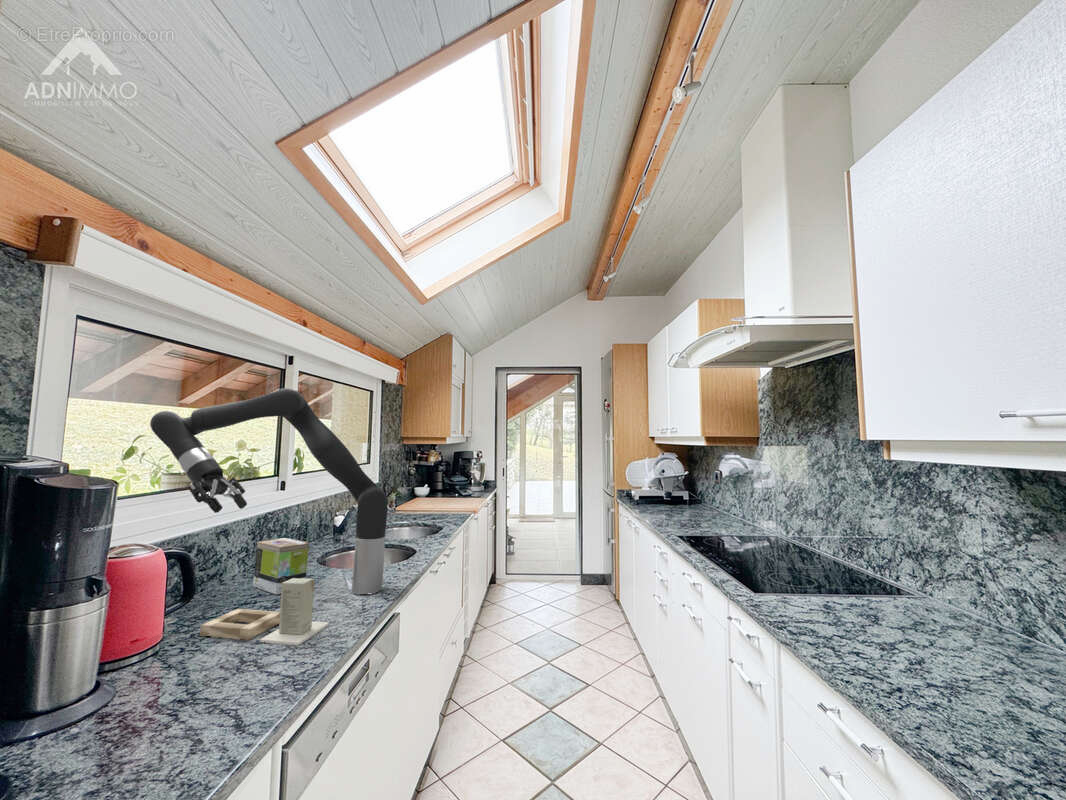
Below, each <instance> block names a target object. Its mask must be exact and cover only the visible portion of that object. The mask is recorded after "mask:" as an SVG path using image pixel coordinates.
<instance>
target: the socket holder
mask: <svg viewBox="0 0 1066 800" xmlns="http://www.w3.org/2000/svg"><path fill="white" fill-rule="evenodd" d="M236 622H247V623H236ZM235 623H236V624H235ZM278 624H280V611H273V610H259V609H249V608H248V609H247V608H237V609H234V610H232V611H230V612H227V613H225V614H223V615H220V616H218V617H216V618H214V619H211V620H209V621H207V622H205V623H203V624H201V625H200V630H199V636H200V637H206V636H211V637H210V638H218V637H222V638H221V639H229V638H234V639H233V640H240V639H245V640H244V641H250V640H252V639H253V638H255V637H256V635H257V636H259V635H260V634H262V633H264V632H266V631H268V630H269V629H272V628H274V627H275V626H277V625H278ZM267 629H268V630H267ZM258 634H259V635H258ZM254 636H255V637H254ZM252 637H253V638H252ZM249 639H250V640H249Z"/></svg>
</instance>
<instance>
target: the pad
mask: <svg viewBox="0 0 1066 800" xmlns="http://www.w3.org/2000/svg"><path fill="white" fill-rule="evenodd" d="M329 625H330V622H324V621H323V622H322V621H313V620H312V627H311V628H310V629H309V630H307V631H306V632H304V633H303V634H281V633H279V628H278V629H276V630H274V631H272V632H271V633H268V634H267V635H266V636H263V637H261V638H260V639H259V642H260V643H264V642H265V643H266V644H267V643H268V644H277V645H278V644H279V645H288V646H289V645H290V646H300V645H301V644H302V643H304V642H306V641H307V640H308V639H311V638H312V637H313V636H314V635H316V634H317V633H319V632H321V631H322V630H323V629H325V628H327V627H329ZM326 626H327V627H326Z"/></svg>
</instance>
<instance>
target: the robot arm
mask: <svg viewBox="0 0 1066 800" xmlns="http://www.w3.org/2000/svg"><path fill="white" fill-rule="evenodd" d="M268 417H269V418H271V417H273V418H274V417H282V418H284V419H285V420H286V421H287V422H288V423H289V424H290V425H292V426H293V428H294V429H295V430H296V431H297V432H298V433H299V435H300V436H301V438H302V439H303V441H304V443H305V445H306V446H307V448H308V450H309V452H310V453H311V454H312V456H313V457H314V459H316V461H317V462H318V463H319V464H320V466H321V467H322V468H324V469H325V470H326V472H327V473H328V474H330V475H331V476H332V477H333V478H334V479H336V480H337V481H338V482H339V483H341V485H343V486H344V487H345V488H346V489H347V490H348V491H349V492H350V494H351V496H353V499H355V502H356V503H357V505H356V506H357V508H356V520H355V521H356V523H355V542H354V543H355V544H354V546H355V547H354V556H353V571H352V573H353V574H352V586H351V593H352V592H353V593H355V594H354V595H356V594H368V593H374V592H377V591H380V590H381V589H382V590H383V586H382V585H383V584H384V583H383V582H384V568H385V567H384V566H385V548H386V547H385V546H386V544H385V543H386V530H387V516H388V504H389V503H388V496H387V494H386V493H385V491H384V490H383V489H382V488H380V487H379V486H378V485H377V484H376V483H375V482H374V481H373V480H372V479H371V478H370V477H369V476H368V475H367V474H366V473H365V472H364V470H363V469H362V468H361V466H360V465H359V463H358V462H357V460H356V458H355V457H354V456H353V455H352V453H351V452H350V450H349V449H348V448H347V446H346V445H345V444H344V443H343V442H342V441H341V440H340V438H339V437H338V436H337V435H336V434H335V433H334V432H333V431H332V430H331V429H330V428H329V427H328V426H327V425H325V424H324V423H323V422H322V421H321V420H320V418H319V417H318V416H317V414H316V413H315V412H314V411H313V409H312V408H311V406H310V405H309V403H308V402H307V401H306V398H305V397H304V395H303V394H302V393H301V392H300V391H297V390H295V389H292V388H289V387H287V388H286V387H283V388H280V389H277V390H274V391H272V392H269V393H266V394H263V395H260V396H257V397H254V398H249V399H246V400H241V401H235V402H229V403H223V404H217V405H212V406H206V407H201V408H198V409H195V410H193V411H192V412H191V414H190V416H189V417H185V418H184V417H181V416H180V415H179V414H177V413H175V412H172V411H169V410H162V411H159V412H157V413H155V414H154V415H153V416H152V417H151V419H150V422H149V424H150V428H151V431H152V432H153V433H154V435H156V437H157V438H158V439H159V440H160V441H161V442H162V443H163V444H164V445H165V446H166V447H167V448H168V449H169V450H170V452H171V454H172V455H173V457H174V458H175V459H176V461H177V462H178V463H179V465H180V467H181V469H182V470H183V472H184V473H185V475H186V476H187V477H188V479H189V480H190V482H191V483H190V484H189V485H187V489H188V490H189V492H190V493H191V495H192V497H193V498H194V500H196V502H197V503H202V502H203V503H204V504H206V505H208V507H209V508H210V509H211V511H213V512H214V513H215V514H216V513H217V514H218V513H220V511H221V510H222V509H223V506H222V504H221V503H220V501H219V500H218V499H217V498H216V497H215V496H217V495H218V496H219V495H220V496H223V497H225V498H226V497H229V498H231V499H232V500H233V502H234V503H235V504H236V505H237V507H238V508H239V509H244V508H246V506H247V504H248V503H247V501H246V499H245V498H244V496H243V494H244V493H246V490H245V488H244V487H243V486H242V484H240V482H239V481H238V479H236V478H235V476H234V477H231V478H230V479H227V478H225V477H224V470H223V468H222V466H221V465H220V464H219V463H218V461H217V460H216V459H215V458H214V456H213V455H212V454H211V452H210V451H208V450H207V449H206V447H205V446H204V445H203V444H202V442H201V441H200V440H199V438H197V437H196V436H197V435H199V434H201V433H203V432H208V431H212V430H217V429H222V428H226V427H229V426H230V427H231V426H234V425H237V424H240V423H243V422H247V421H251V420H256V419H261V418H268ZM228 488H229V490H228ZM382 590H381V591H382ZM381 591H380V592H381ZM353 593H352V594H353Z"/></svg>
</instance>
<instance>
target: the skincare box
mask: <svg viewBox="0 0 1066 800" xmlns="http://www.w3.org/2000/svg"><path fill="white" fill-rule="evenodd" d="M314 586H315V578H306V579H305V578H292V579H290V580H288V581H285V582H283V583H282V590H281V594H280V610H279V612H280V623H278V624H279V625H278V626H279V627H278V629H279V633H281V634H303V633H304V632H306V631H307V630H309V629H310V628H311V627H312V621H313V610H314V609H313V607H314Z"/></svg>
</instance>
